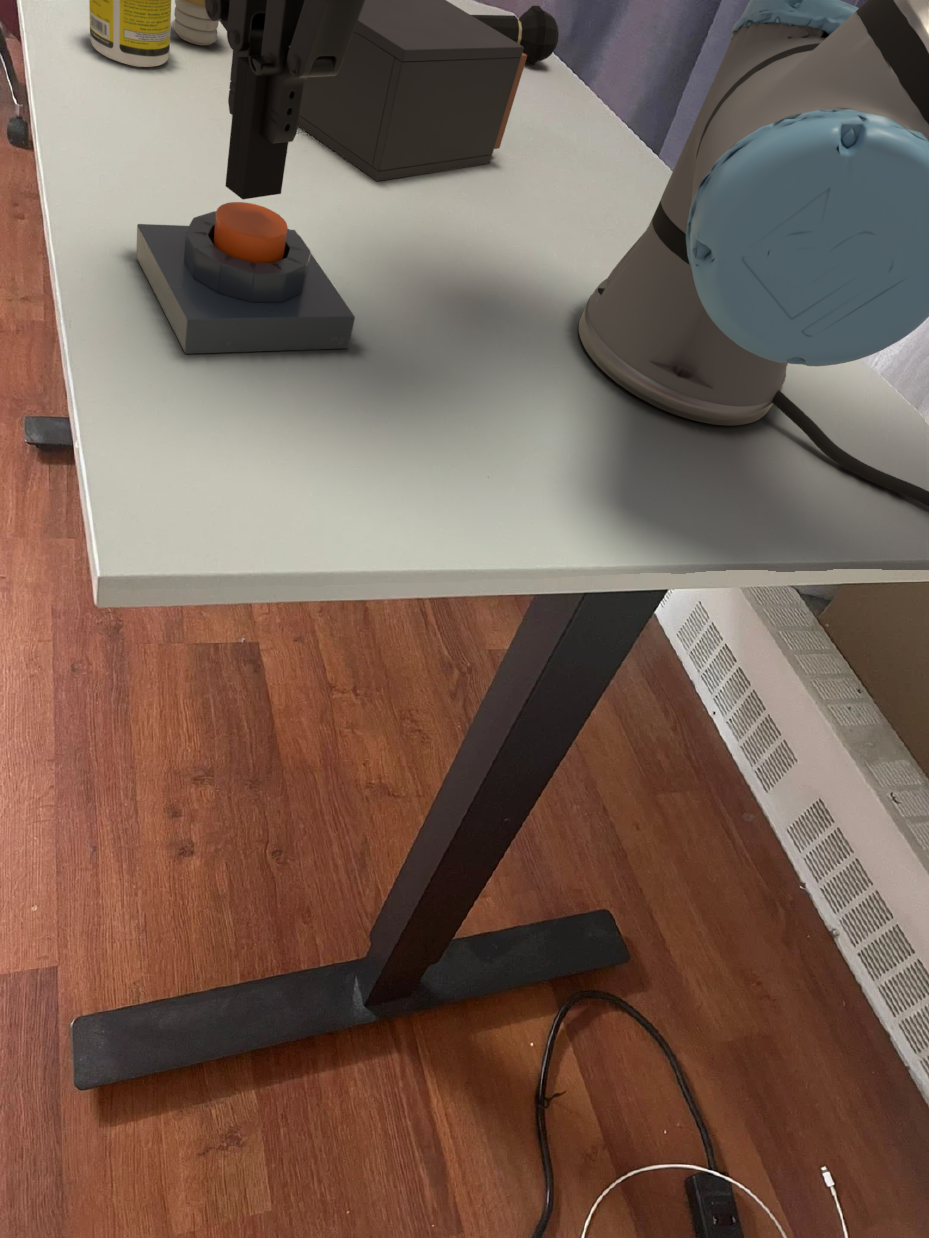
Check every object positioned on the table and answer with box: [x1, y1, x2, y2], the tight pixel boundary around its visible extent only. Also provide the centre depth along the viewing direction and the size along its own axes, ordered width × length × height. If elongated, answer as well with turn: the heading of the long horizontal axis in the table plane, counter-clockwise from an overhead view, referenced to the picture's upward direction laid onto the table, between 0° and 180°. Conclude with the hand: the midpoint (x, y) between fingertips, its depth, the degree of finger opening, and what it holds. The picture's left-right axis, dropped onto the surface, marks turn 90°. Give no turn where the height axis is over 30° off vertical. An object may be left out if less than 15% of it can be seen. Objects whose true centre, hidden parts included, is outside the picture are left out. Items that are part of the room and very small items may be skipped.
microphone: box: [470, 5, 560, 66], centre depth 102 cm, size 6×6×20 cm
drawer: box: [494, 53, 527, 150], centre depth 77 cm, size 15×11×8 cm
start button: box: [214, 201, 289, 263], centre depth 52 cm, size 4×4×2 cm
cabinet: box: [290, 0, 524, 182], centre depth 75 cm, size 15×13×10 cm
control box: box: [135, 210, 356, 355], centre depth 54 cm, size 10×10×4 cm
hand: (253, 189), depth 50 cm, fingers closed
